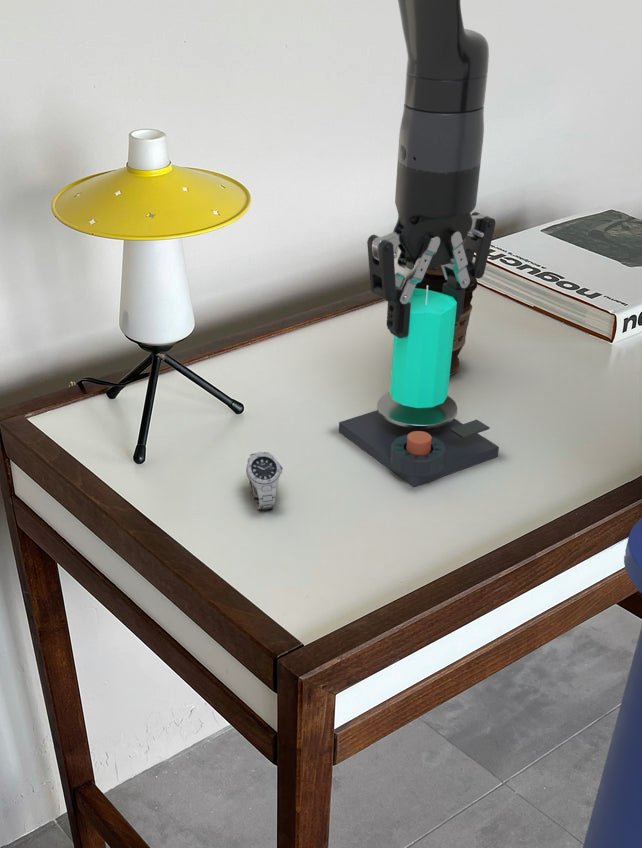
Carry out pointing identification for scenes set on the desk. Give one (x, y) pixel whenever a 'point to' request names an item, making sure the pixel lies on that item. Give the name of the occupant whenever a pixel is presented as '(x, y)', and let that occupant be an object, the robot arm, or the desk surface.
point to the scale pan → (426, 416)
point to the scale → (415, 469)
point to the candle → (424, 351)
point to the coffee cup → (435, 283)
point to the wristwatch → (263, 478)
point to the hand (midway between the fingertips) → (424, 327)
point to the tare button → (418, 443)
